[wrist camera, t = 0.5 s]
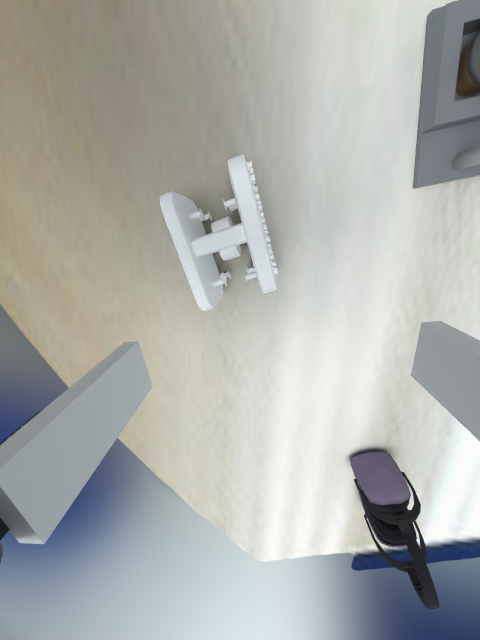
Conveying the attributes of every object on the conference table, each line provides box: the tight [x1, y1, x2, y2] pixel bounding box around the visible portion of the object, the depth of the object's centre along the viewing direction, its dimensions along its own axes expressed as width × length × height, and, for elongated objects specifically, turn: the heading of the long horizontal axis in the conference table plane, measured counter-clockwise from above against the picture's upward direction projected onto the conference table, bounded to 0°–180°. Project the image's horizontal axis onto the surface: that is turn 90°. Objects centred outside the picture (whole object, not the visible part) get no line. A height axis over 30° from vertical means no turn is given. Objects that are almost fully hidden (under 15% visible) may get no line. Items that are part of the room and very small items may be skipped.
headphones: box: [350, 451, 439, 609], centre depth 42 cm, size 9×17×20 cm, turn 20°
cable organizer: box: [160, 154, 278, 311], centre depth 30 cm, size 15×11×12 cm
